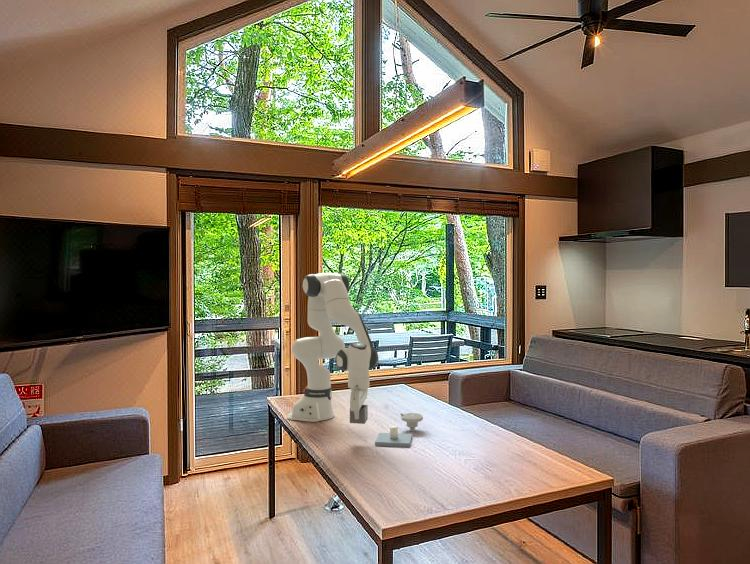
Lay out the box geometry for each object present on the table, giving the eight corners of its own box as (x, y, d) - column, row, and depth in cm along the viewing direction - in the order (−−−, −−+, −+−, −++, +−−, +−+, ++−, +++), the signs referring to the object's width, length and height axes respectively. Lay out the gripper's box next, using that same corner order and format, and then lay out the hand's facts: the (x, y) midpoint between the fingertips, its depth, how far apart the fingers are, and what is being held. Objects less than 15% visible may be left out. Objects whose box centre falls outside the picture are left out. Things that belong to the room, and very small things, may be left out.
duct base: (375, 445, 212) (374, 430, 211) (379, 436, 224) (379, 422, 223) (409, 447, 210) (409, 432, 209) (412, 437, 221) (411, 423, 221)
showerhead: (401, 410, 237) (423, 411, 235) (401, 426, 237) (424, 427, 235) (398, 416, 228) (421, 417, 226) (398, 432, 228) (421, 434, 226)
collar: (349, 423, 214) (349, 408, 213) (353, 418, 220) (353, 404, 219) (364, 423, 212) (364, 409, 212) (367, 419, 219) (367, 405, 218)
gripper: (362, 389, 205) (362, 424, 205) (370, 377, 225) (370, 409, 225) (346, 388, 205) (346, 423, 206) (355, 376, 226) (355, 408, 226)
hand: (358, 415), depth 216 cm, fingers closed on collar, 6 cm apart
